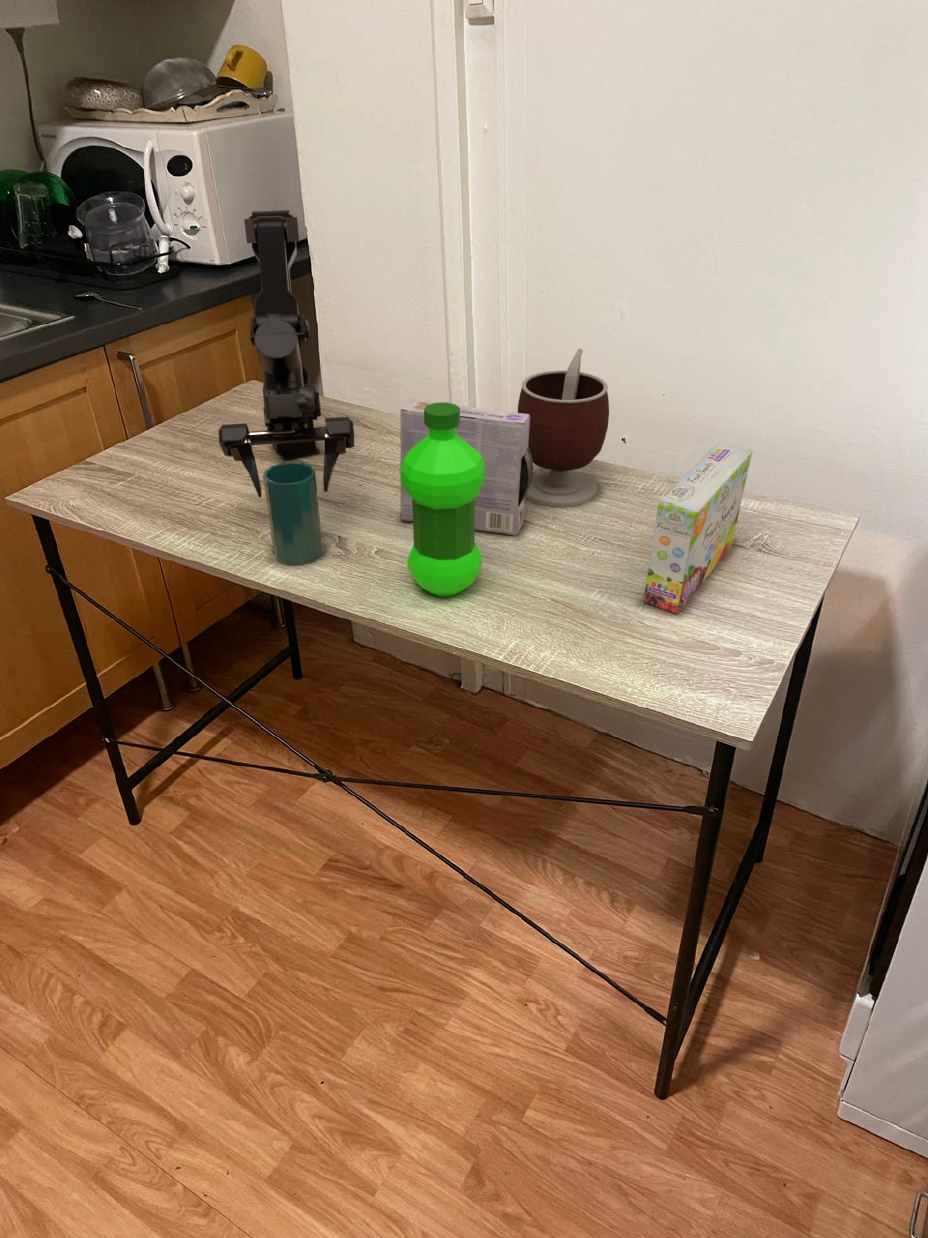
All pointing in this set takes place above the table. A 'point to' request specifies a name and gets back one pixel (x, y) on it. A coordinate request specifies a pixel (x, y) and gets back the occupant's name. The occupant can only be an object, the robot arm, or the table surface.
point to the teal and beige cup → (293, 512)
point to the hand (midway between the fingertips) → (293, 493)
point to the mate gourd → (564, 432)
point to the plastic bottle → (443, 504)
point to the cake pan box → (503, 456)
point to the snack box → (695, 526)
